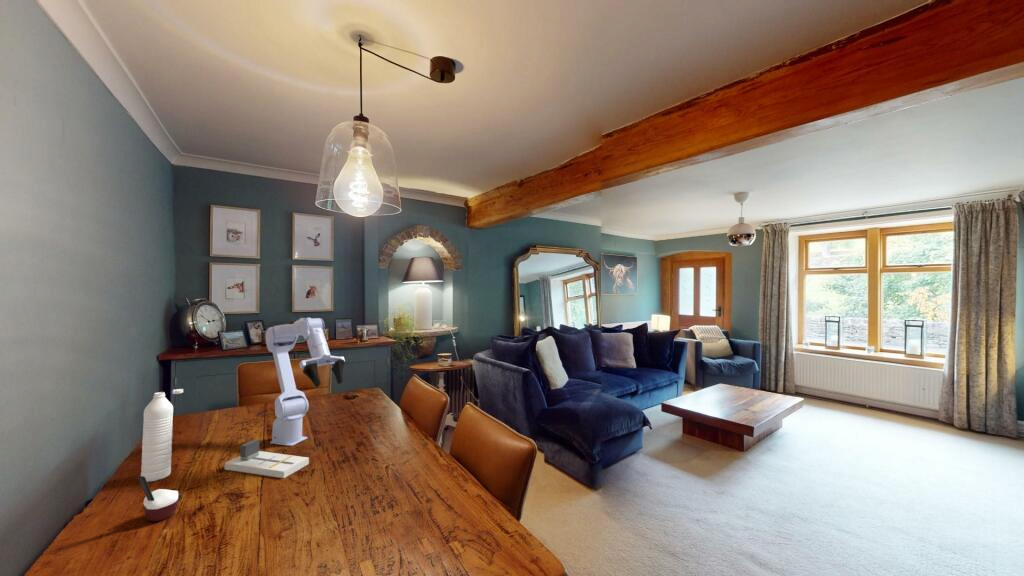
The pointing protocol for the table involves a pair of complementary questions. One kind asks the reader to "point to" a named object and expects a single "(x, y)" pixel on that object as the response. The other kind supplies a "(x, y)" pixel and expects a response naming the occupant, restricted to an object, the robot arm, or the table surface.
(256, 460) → the fader console
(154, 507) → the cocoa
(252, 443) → the fader tab
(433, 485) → the table surface
